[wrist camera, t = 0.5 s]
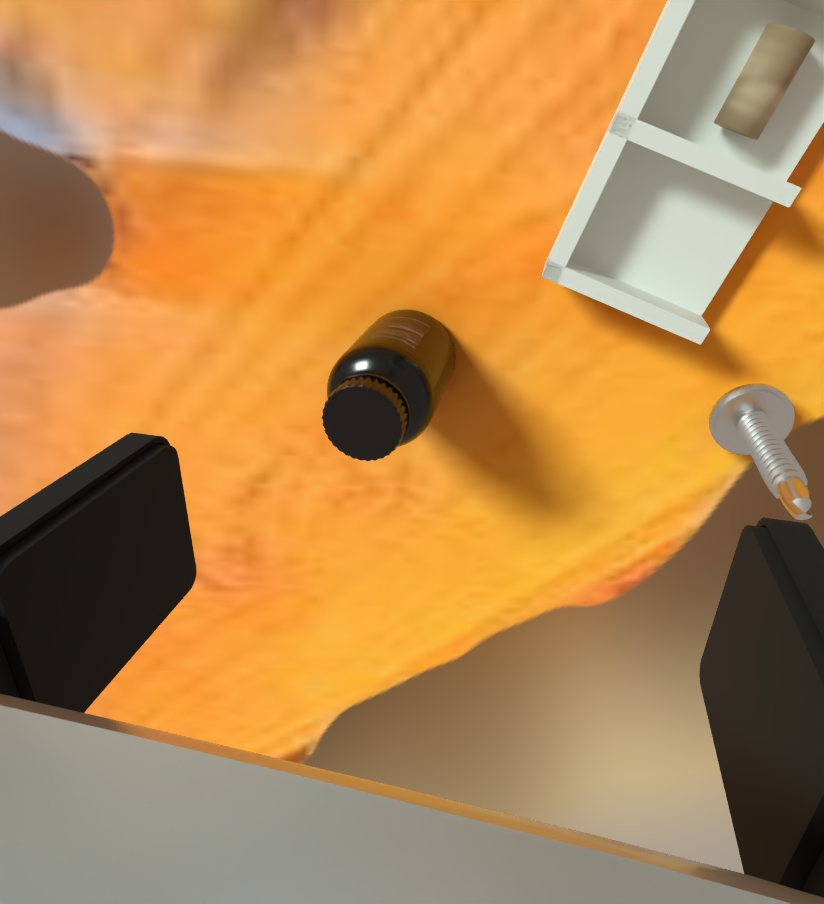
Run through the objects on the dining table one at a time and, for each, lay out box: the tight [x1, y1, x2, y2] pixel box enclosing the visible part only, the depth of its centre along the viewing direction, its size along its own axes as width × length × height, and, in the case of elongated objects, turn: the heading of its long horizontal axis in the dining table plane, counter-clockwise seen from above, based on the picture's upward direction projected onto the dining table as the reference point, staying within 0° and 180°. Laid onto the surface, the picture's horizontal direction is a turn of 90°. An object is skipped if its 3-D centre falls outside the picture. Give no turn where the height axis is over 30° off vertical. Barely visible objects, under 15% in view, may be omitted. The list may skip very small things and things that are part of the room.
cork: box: [714, 23, 815, 140], centre depth 31 cm, size 4×2×2 cm
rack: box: [542, 0, 824, 345], centre depth 34 cm, size 17×10×4 cm, turn 160°
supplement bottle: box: [322, 310, 455, 461], centre depth 40 cm, size 7×7×12 cm
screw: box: [709, 384, 812, 520], centre depth 36 cm, size 13×5×5 cm
